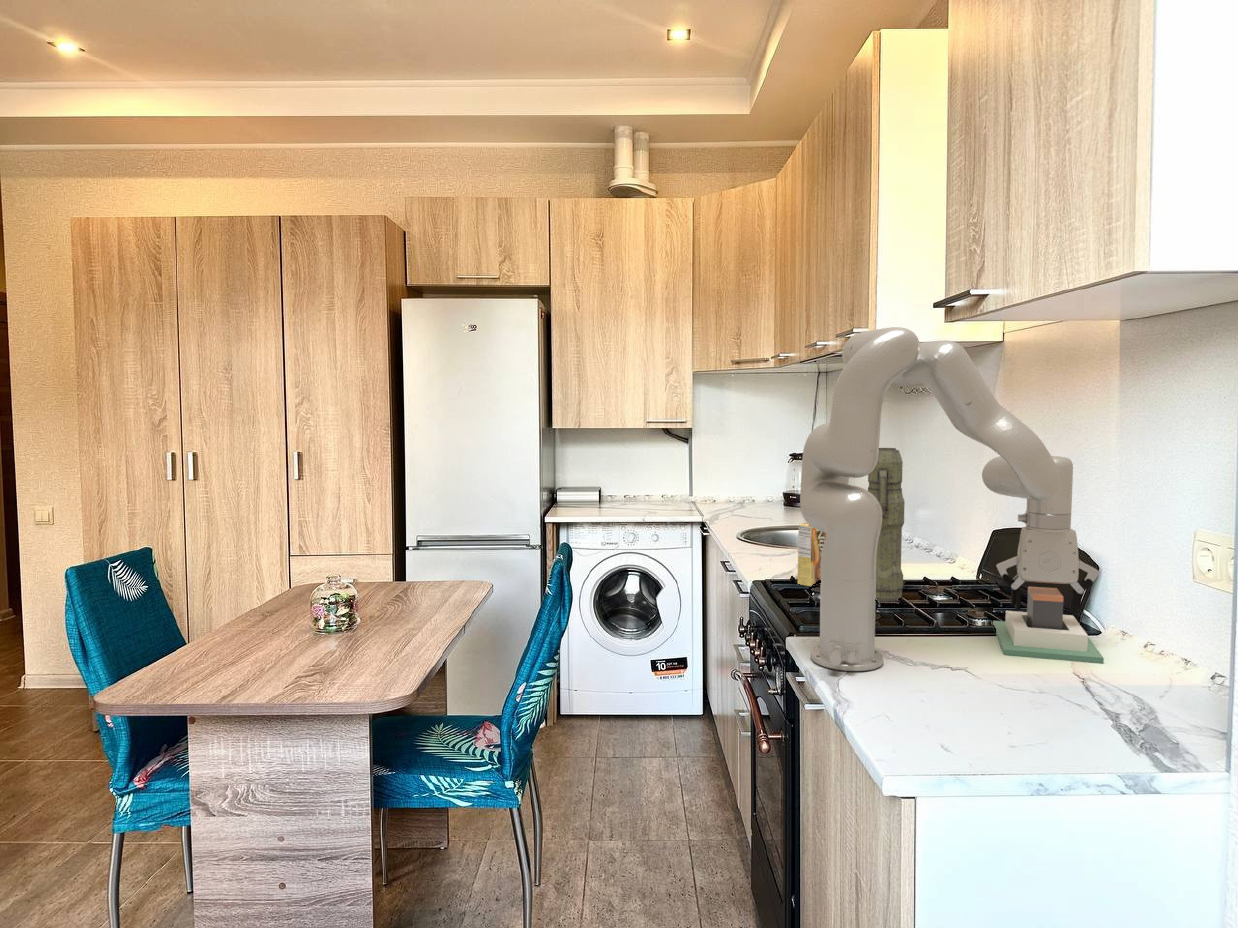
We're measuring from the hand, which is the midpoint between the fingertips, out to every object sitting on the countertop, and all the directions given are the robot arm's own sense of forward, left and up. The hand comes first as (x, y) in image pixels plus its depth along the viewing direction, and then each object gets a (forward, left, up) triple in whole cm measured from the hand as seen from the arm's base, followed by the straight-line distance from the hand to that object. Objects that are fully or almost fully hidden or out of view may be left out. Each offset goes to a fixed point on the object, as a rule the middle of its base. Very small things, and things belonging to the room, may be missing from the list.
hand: (1045, 610), depth 156 cm
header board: (0, 0, -6) cm, 6 cm away
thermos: (+28, +30, -6) cm, 42 cm away
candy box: (+38, +47, -6) cm, 61 cm away
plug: (0, 0, -5) cm, 5 cm away
